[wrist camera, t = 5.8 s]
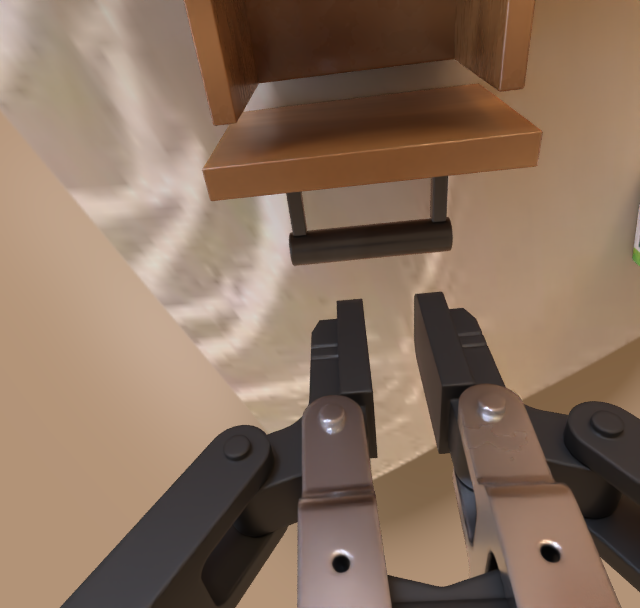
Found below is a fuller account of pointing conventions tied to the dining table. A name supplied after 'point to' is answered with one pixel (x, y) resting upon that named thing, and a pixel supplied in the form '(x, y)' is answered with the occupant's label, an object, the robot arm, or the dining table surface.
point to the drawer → (361, 107)
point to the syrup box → (637, 242)
